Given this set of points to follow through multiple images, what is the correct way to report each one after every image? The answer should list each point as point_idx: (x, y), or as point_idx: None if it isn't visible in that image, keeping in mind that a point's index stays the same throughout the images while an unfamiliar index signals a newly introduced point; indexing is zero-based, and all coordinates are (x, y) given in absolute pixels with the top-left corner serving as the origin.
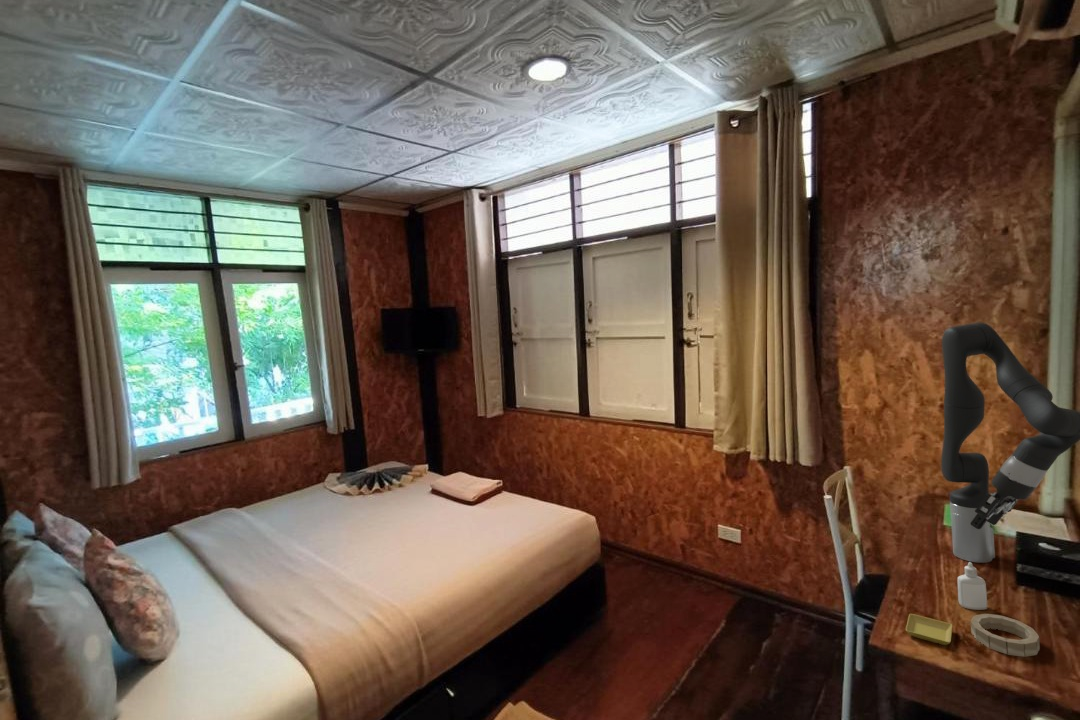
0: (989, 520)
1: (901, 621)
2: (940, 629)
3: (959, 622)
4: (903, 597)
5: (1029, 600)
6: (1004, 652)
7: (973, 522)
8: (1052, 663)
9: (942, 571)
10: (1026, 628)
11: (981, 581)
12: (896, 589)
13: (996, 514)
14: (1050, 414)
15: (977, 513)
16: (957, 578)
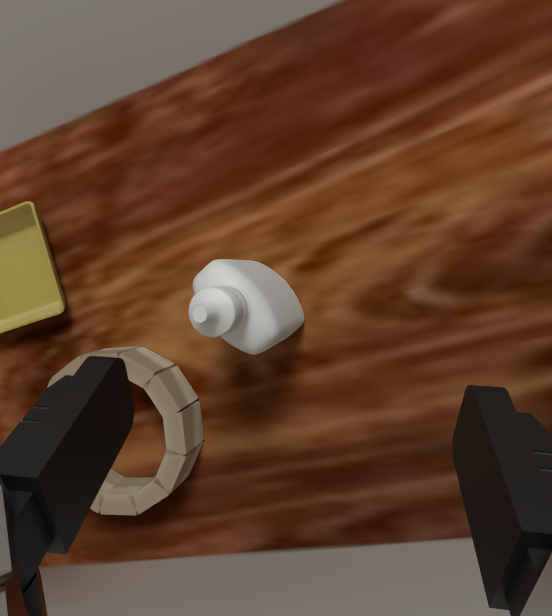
0: (464, 421)
1: (20, 192)
2: (54, 286)
3: (136, 306)
4: (159, 118)
5: None
6: None
7: (43, 400)
8: (110, 527)
9: (509, 99)
10: (153, 483)
11: (235, 346)
12: (197, 70)
13: (495, 537)
14: None
15: (2, 472)
16: (215, 260)
